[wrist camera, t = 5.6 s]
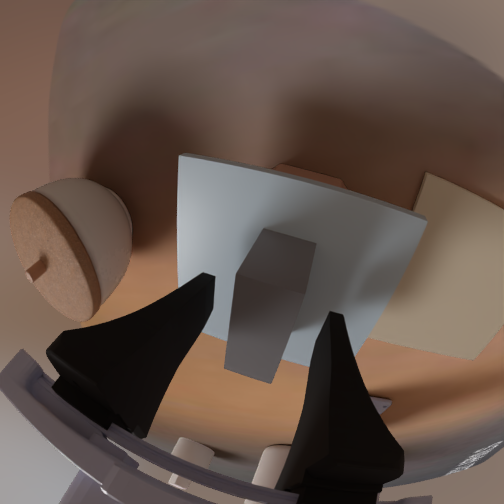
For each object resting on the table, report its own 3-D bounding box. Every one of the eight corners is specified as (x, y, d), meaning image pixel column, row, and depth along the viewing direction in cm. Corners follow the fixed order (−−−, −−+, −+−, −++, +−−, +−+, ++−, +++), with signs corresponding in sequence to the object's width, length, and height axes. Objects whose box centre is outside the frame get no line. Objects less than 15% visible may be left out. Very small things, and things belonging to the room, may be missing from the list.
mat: (472, 357, 18) (473, 360, 18) (354, 330, 20) (354, 334, 20) (550, 239, 11) (553, 241, 10) (425, 171, 13) (427, 173, 13)
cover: (342, 367, 16) (334, 422, 13) (184, 317, 18) (154, 362, 15) (424, 215, 10) (453, 269, 7) (185, 152, 12) (127, 179, 9)
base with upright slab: (183, 435, 49) (161, 477, 40) (219, 452, 49) (200, 495, 40) (175, 440, 55) (156, 477, 45) (208, 455, 55) (190, 493, 45)
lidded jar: (149, 164, 18) (44, 220, 11) (161, 282, 24) (97, 357, 16) (64, 158, 20) (-17, 199, 13) (83, 254, 26) (23, 306, 19)
